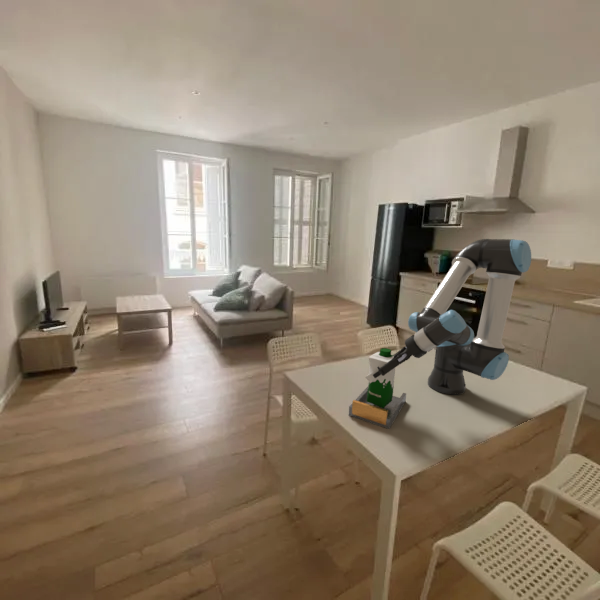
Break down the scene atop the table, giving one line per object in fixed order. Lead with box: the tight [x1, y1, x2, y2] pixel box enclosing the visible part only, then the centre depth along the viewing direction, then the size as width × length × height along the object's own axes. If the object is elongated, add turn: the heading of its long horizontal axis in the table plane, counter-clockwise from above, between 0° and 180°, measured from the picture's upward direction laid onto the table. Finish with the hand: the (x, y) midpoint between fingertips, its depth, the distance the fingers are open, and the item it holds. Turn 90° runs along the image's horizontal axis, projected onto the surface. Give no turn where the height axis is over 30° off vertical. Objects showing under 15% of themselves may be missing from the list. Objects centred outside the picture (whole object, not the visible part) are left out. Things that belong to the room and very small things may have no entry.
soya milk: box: [367, 347, 396, 408], centre depth 120 cm, size 9×9×20 cm
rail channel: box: [348, 386, 407, 430], centre depth 122 cm, size 22×15×6 cm
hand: (372, 375), depth 122 cm, fingers closed on soya milk, 9 cm apart
